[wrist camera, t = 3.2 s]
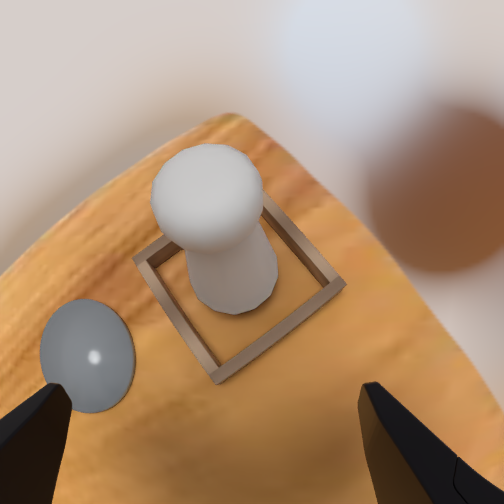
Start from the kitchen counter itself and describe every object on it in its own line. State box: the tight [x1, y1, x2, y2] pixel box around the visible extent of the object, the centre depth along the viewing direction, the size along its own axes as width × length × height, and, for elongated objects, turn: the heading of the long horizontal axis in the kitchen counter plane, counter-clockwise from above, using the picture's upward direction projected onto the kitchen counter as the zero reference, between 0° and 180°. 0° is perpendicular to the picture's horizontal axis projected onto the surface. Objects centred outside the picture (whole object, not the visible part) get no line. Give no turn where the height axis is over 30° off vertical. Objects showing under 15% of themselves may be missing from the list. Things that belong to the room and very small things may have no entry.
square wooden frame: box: [132, 189, 347, 385], centre depth 22 cm, size 11×11×2 cm
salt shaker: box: [150, 144, 278, 315], centre depth 17 cm, size 6×6×13 cm
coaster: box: [40, 299, 136, 413], centre depth 21 cm, size 9×9×1 cm
